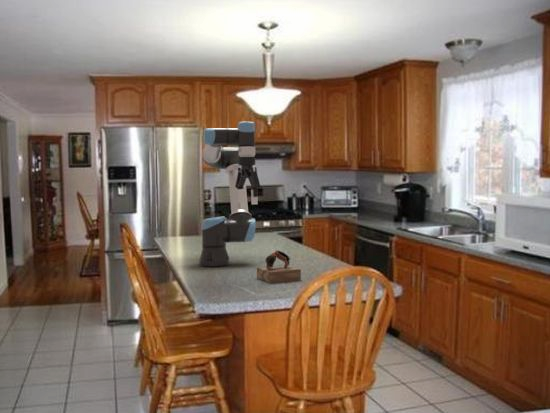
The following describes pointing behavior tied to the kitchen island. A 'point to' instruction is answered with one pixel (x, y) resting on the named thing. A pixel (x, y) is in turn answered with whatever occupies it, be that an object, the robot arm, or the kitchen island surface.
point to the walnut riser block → (278, 274)
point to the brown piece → (279, 255)
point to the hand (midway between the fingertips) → (247, 203)
